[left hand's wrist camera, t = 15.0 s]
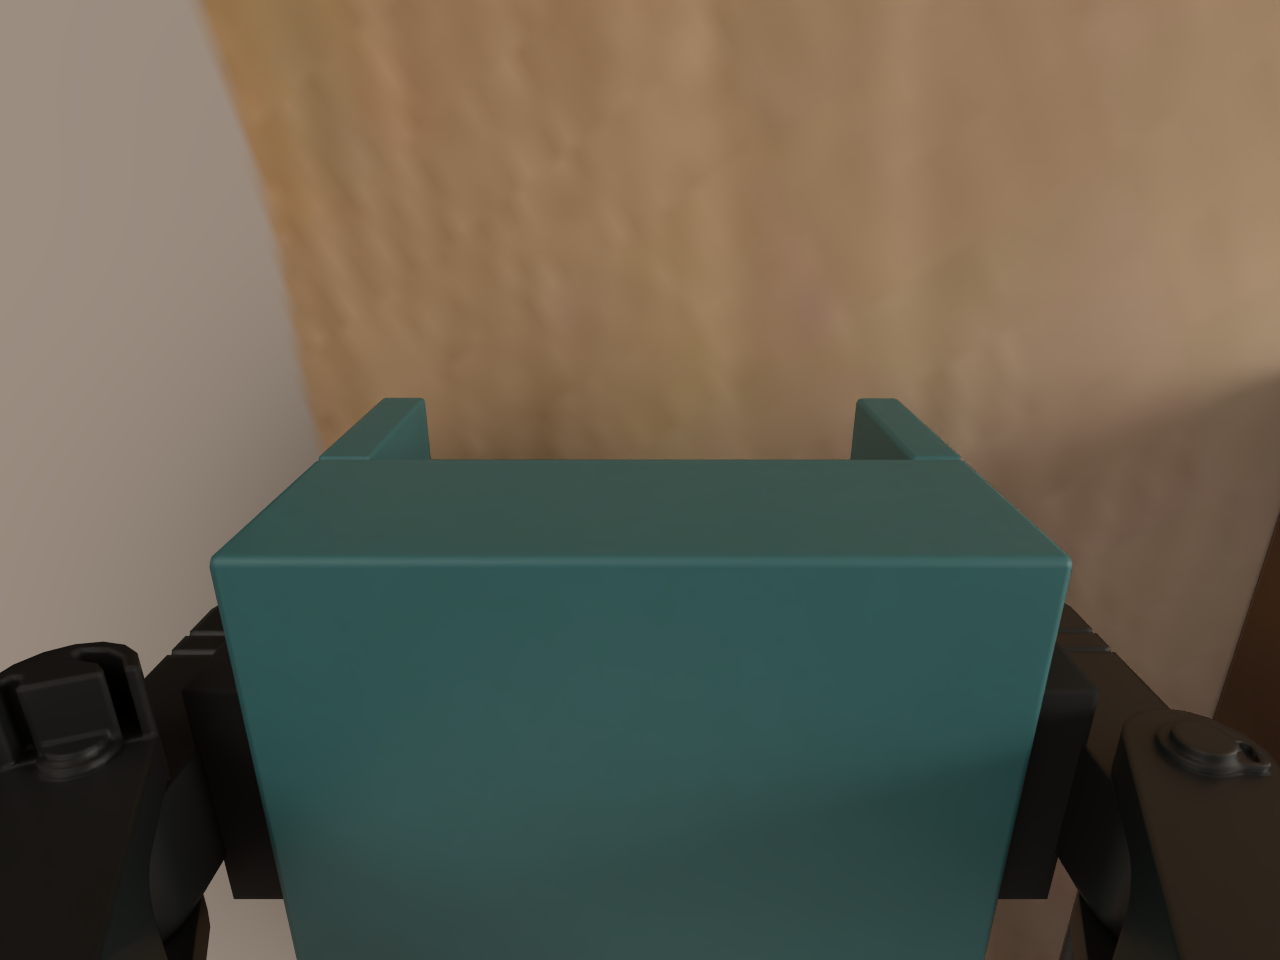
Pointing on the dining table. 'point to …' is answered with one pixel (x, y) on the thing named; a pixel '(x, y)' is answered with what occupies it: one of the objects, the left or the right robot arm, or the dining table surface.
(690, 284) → the dining table surface
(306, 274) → the dining table surface
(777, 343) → the dining table surface
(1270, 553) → the bar
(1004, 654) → the teal u-shaped block
